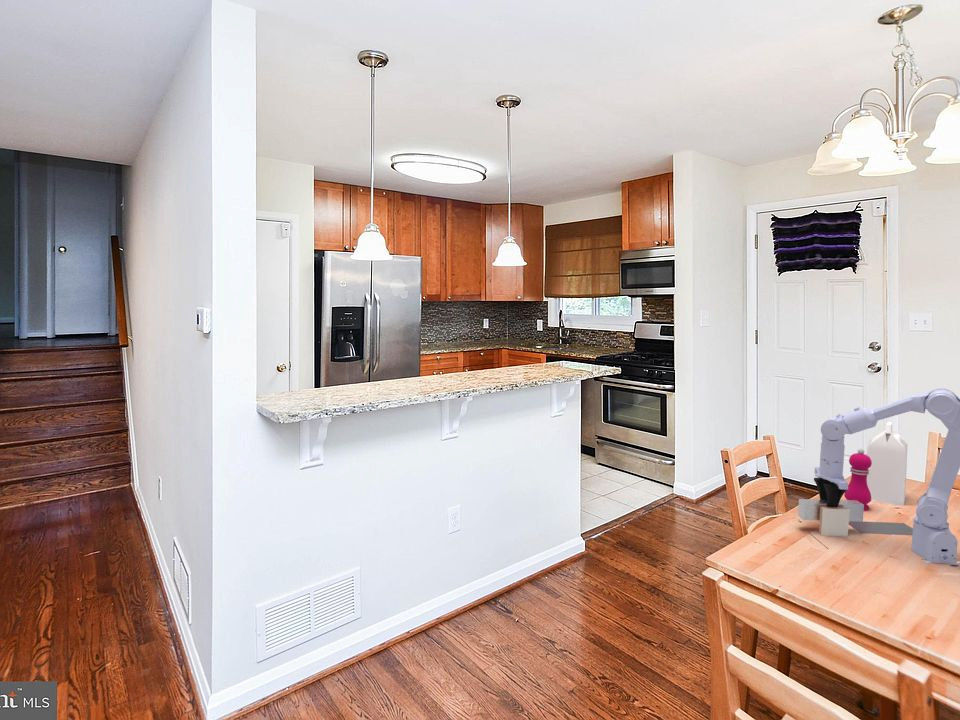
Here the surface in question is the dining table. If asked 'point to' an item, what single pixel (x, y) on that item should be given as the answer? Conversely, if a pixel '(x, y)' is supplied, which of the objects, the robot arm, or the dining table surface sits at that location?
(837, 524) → the tile
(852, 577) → the dining table surface
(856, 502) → the bar
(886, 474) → the milk
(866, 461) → the pepper mill
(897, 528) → the board
